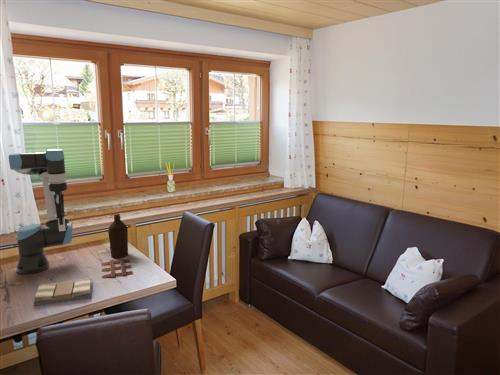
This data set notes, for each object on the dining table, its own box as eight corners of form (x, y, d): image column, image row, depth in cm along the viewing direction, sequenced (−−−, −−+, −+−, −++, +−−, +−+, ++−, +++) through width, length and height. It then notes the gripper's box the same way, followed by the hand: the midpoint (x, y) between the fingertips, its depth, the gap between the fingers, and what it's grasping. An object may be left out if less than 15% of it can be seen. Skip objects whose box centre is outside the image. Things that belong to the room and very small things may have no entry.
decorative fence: (129, 260, 219) (101, 264, 214) (129, 257, 219) (101, 261, 214) (133, 276, 198) (102, 280, 193) (132, 273, 198) (101, 277, 193)
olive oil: (133, 253, 228) (130, 212, 223) (121, 259, 218) (118, 217, 214) (118, 251, 232) (115, 210, 227) (106, 257, 222) (102, 215, 217)
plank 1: (40, 288, 179) (39, 284, 179) (56, 286, 181) (56, 282, 181) (34, 301, 166) (34, 297, 166) (52, 299, 169) (52, 295, 168)
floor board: (39, 292, 179) (38, 285, 179) (92, 284, 187) (92, 278, 186) (33, 306, 166) (33, 298, 166) (91, 297, 174) (90, 290, 173)
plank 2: (75, 284, 184) (75, 280, 183) (91, 281, 186) (90, 277, 186) (73, 297, 171) (72, 292, 171) (89, 293, 173) (89, 289, 173)
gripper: (50, 180, 185) (55, 227, 190) (46, 185, 173) (51, 235, 178) (67, 179, 188) (72, 226, 192) (64, 184, 176) (69, 233, 180)
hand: (62, 230), depth 185 cm, fingers closed
